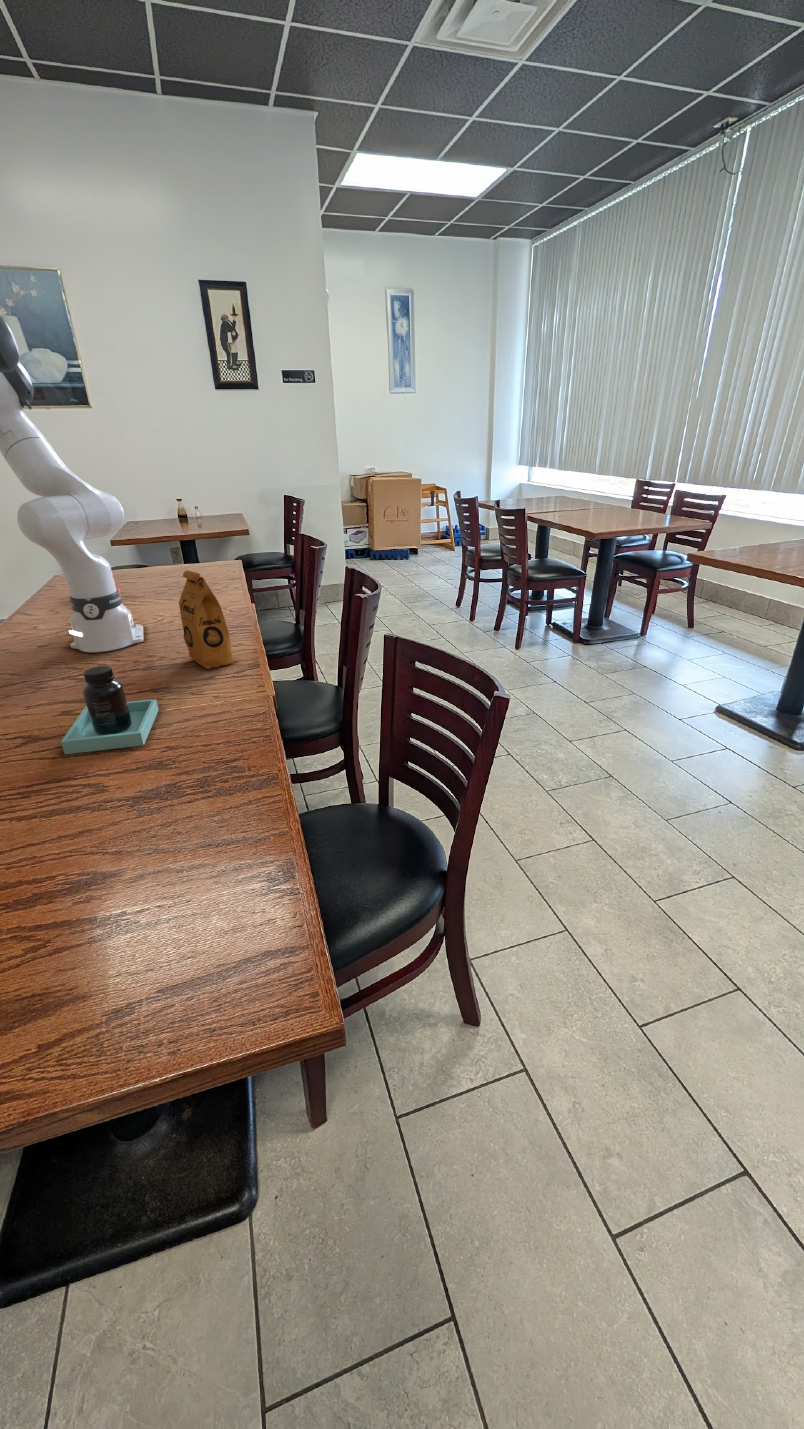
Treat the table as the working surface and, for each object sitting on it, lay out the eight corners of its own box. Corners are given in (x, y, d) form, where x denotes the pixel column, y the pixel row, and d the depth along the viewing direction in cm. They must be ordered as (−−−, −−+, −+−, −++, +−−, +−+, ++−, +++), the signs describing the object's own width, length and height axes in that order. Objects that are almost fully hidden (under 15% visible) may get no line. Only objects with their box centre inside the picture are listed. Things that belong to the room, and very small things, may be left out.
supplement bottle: (140, 722, 115) (125, 665, 110) (114, 738, 109) (98, 678, 104) (112, 718, 117) (97, 662, 112) (86, 733, 112) (68, 675, 106)
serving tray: (89, 717, 119) (85, 705, 118) (158, 710, 122) (156, 698, 120) (64, 754, 106) (60, 741, 104) (143, 745, 108) (140, 732, 107)
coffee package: (198, 673, 140) (180, 581, 130) (185, 658, 149) (167, 571, 140) (239, 663, 145) (224, 574, 135) (224, 650, 154) (209, 566, 144)
